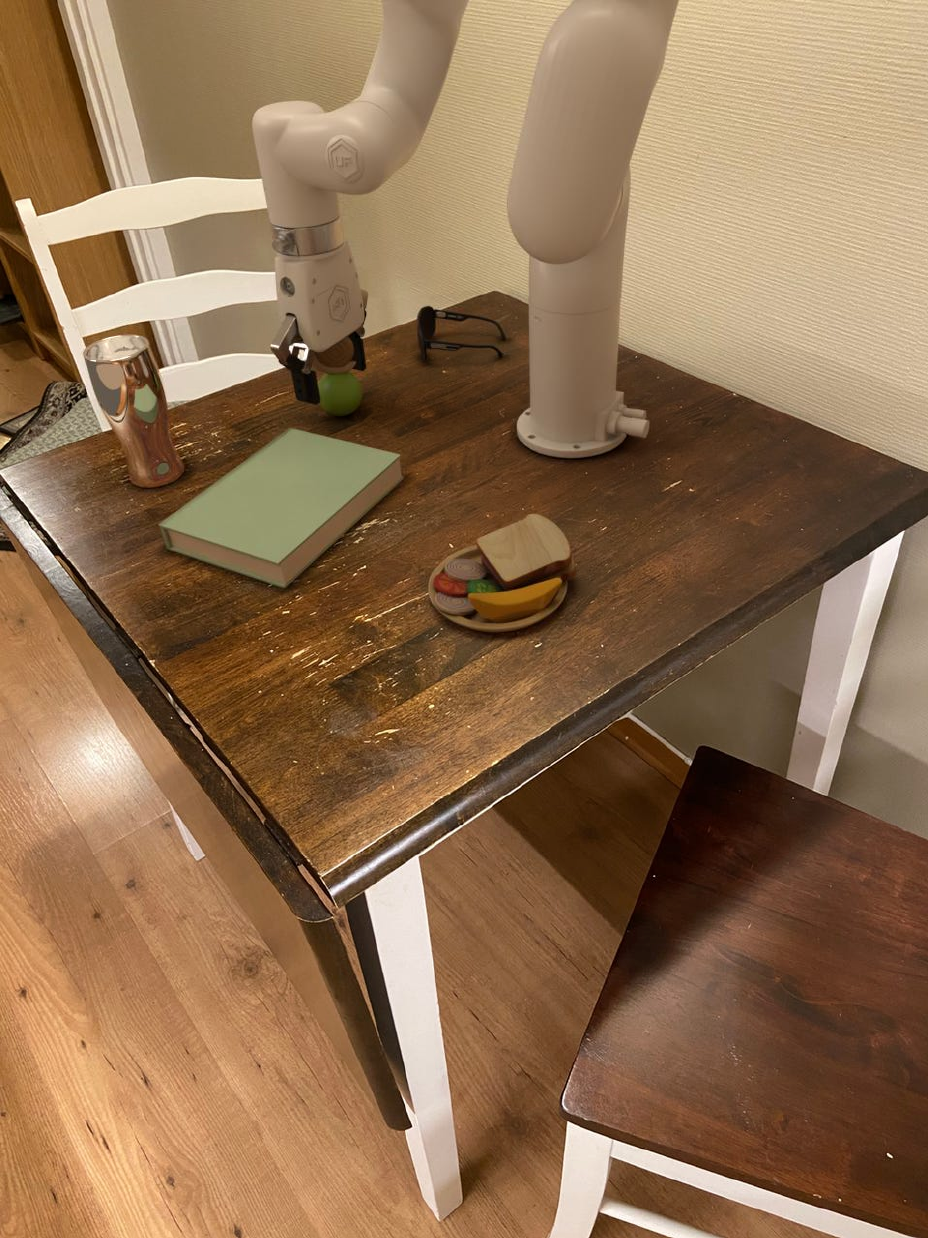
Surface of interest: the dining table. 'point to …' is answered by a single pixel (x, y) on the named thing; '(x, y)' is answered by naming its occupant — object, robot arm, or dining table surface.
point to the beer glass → (135, 407)
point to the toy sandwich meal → (505, 577)
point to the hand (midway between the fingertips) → (332, 384)
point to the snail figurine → (338, 379)
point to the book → (283, 506)
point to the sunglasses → (428, 326)
